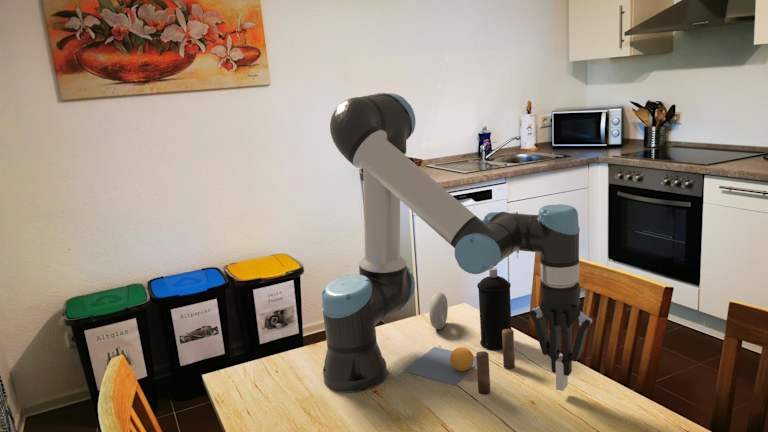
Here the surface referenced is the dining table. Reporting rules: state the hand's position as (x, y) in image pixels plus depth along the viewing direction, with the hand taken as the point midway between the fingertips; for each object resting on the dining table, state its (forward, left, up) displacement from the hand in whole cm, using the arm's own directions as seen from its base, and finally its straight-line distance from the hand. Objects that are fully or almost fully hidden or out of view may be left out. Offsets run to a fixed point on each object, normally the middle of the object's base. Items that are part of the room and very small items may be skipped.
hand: (561, 387), depth 128 cm
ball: (-24, 0, +1) cm, 24 cm away
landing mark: (-29, 0, -2) cm, 29 cm away
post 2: (-15, +6, -2) cm, 16 cm away
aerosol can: (-23, +16, -2) cm, 28 cm away
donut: (-41, +18, -2) cm, 45 cm away
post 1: (-15, -6, -2) cm, 16 cm away
